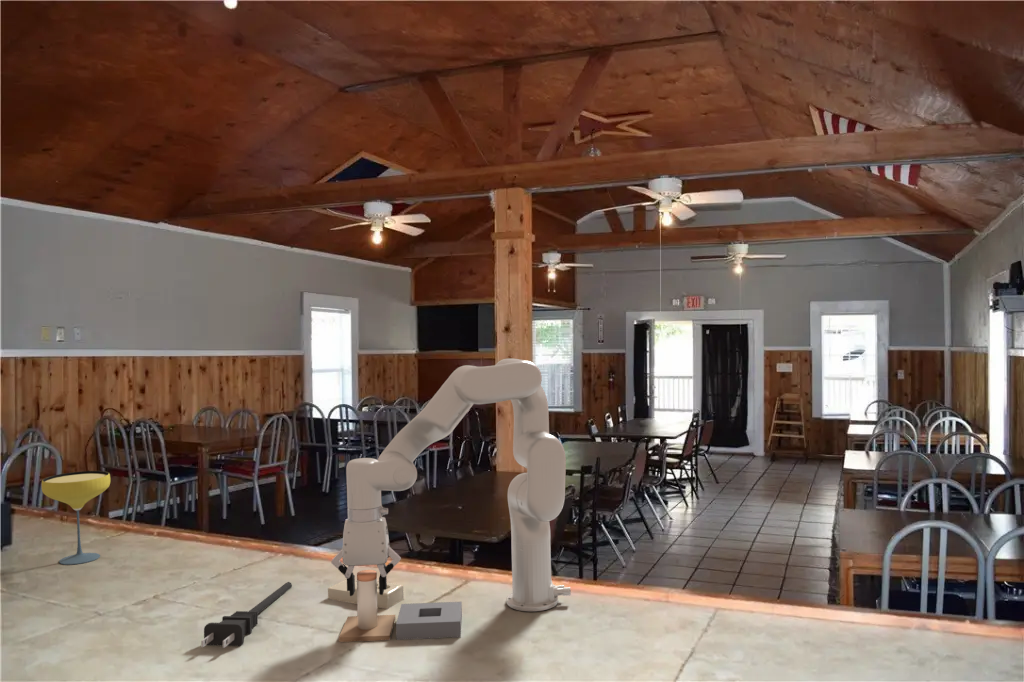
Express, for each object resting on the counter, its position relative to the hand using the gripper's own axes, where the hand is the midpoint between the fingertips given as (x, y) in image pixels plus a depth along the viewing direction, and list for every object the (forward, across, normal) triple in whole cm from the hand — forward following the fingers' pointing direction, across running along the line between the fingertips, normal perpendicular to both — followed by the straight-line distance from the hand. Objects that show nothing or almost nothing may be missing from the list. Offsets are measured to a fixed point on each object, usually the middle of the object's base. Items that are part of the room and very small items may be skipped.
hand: (367, 592), depth 178 cm
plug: (+8, 0, 0) cm, 8 cm away
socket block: (+9, -14, 0) cm, 16 cm away
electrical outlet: (+9, +3, -20) cm, 22 cm away
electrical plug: (+9, +28, -10) cm, 31 cm away
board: (+9, 0, 0) cm, 9 cm away
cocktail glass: (+9, +95, -63) cm, 114 cm away
